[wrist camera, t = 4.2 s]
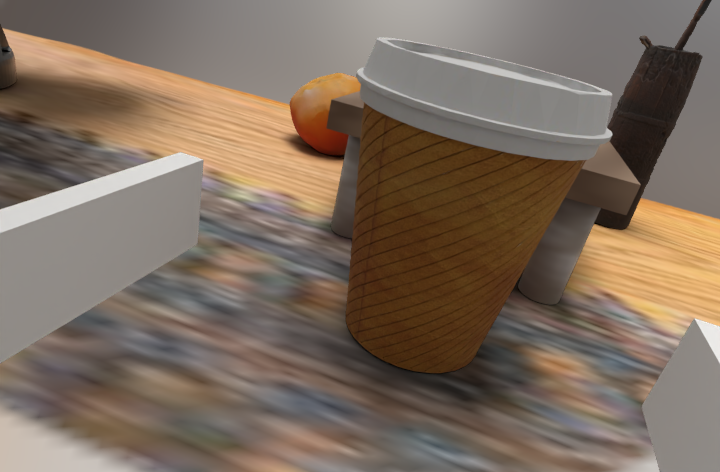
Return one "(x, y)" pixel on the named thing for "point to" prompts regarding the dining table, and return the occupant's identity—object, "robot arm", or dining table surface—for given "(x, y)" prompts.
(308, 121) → the fruit
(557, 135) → the disposable coffee cup
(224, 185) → the dining table surface
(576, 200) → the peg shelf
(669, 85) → the butter churn
